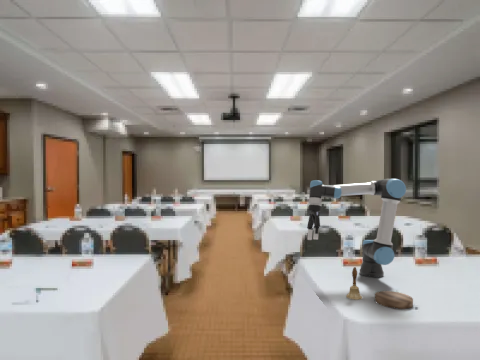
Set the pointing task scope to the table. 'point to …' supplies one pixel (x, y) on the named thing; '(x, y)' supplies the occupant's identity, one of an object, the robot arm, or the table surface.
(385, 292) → the walnut stand
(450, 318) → the table surface
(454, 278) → the table surface
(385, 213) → the robot arm
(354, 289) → the hand bell
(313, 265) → the table surface
